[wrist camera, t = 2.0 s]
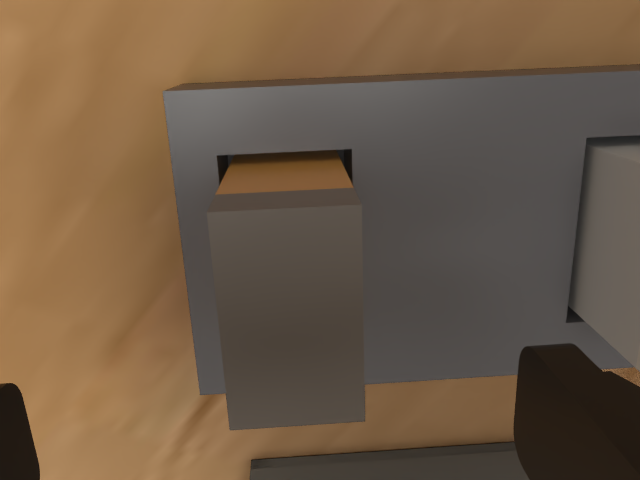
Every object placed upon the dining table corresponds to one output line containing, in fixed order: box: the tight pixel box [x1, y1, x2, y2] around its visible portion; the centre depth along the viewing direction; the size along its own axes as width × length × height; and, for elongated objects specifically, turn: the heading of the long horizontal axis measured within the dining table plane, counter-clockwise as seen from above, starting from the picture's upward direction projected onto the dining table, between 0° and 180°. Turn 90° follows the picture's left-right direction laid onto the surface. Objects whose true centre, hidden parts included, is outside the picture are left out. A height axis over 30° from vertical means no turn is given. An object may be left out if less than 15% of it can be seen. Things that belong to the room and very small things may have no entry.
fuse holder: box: [163, 64, 640, 395], centre depth 18 cm, size 16×9×3 cm, turn 92°
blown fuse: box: [207, 150, 365, 430], centre depth 15 cm, size 3×5×7 cm, turn 2°
